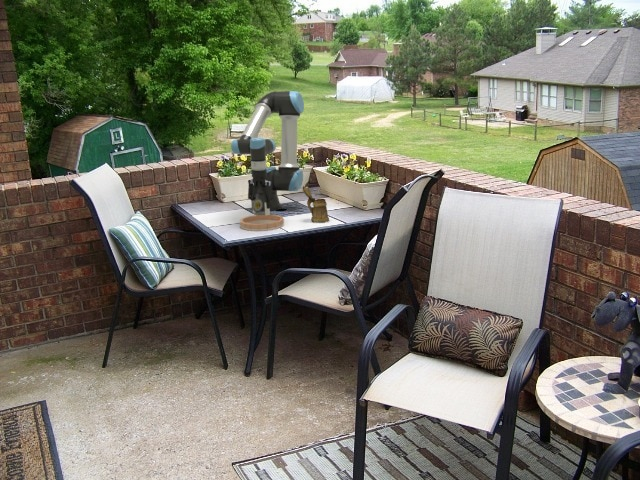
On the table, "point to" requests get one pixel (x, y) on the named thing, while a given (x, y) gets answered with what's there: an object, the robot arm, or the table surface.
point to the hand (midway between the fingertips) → (261, 213)
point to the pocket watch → (258, 206)
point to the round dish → (261, 222)
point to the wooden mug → (317, 208)
